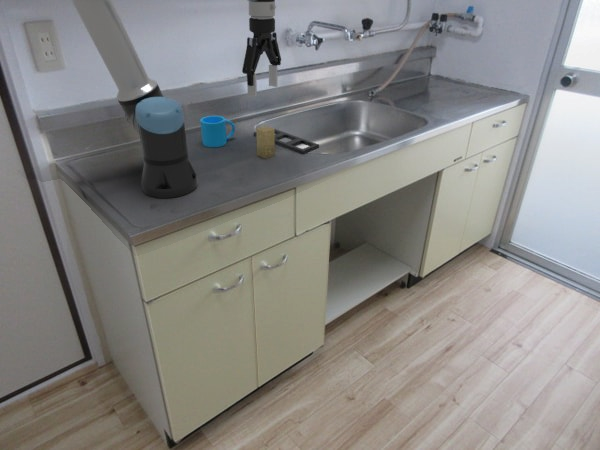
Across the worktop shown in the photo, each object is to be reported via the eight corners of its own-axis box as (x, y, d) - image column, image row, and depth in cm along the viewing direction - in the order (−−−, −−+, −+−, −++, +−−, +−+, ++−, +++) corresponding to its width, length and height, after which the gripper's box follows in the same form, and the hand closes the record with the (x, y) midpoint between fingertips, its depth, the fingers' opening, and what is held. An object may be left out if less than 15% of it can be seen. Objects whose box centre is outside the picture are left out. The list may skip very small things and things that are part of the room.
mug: (208, 149, 152) (206, 125, 148) (198, 141, 158) (196, 118, 153) (240, 142, 158) (239, 119, 153) (230, 135, 163) (228, 112, 159)
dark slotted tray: (303, 154, 149) (303, 151, 148) (253, 135, 163) (253, 132, 162) (319, 147, 154) (319, 144, 153) (269, 130, 168) (269, 127, 167)
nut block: (265, 158, 146) (265, 131, 141) (257, 155, 148) (256, 128, 143) (274, 155, 148) (274, 128, 143) (266, 152, 150) (265, 125, 146)
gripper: (251, 23, 121) (253, 102, 132) (292, 13, 141) (291, 83, 152) (227, 20, 124) (231, 98, 135) (270, 12, 143) (271, 80, 154)
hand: (263, 91), depth 143 cm, fingers open, 13 cm apart
